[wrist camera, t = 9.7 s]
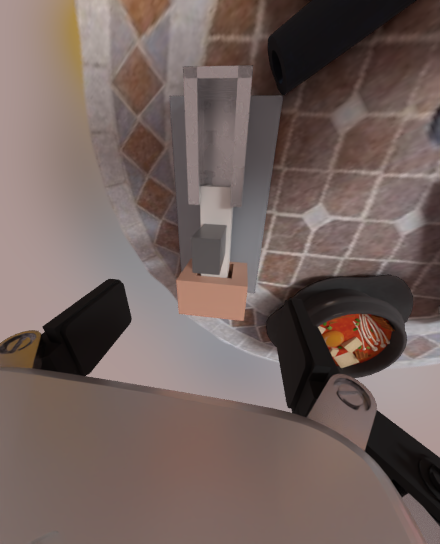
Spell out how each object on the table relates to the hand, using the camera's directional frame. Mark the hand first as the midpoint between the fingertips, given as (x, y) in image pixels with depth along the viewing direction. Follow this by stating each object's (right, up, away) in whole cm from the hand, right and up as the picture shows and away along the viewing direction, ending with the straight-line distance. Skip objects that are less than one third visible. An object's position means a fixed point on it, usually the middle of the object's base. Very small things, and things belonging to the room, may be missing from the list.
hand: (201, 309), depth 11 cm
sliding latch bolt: (+1, +7, +19) cm, 20 cm away
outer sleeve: (+1, +18, +15) cm, 24 cm away
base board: (+1, +12, +19) cm, 23 cm away
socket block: (+1, +2, +23) cm, 23 cm away
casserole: (+22, -6, +26) cm, 35 cm away
